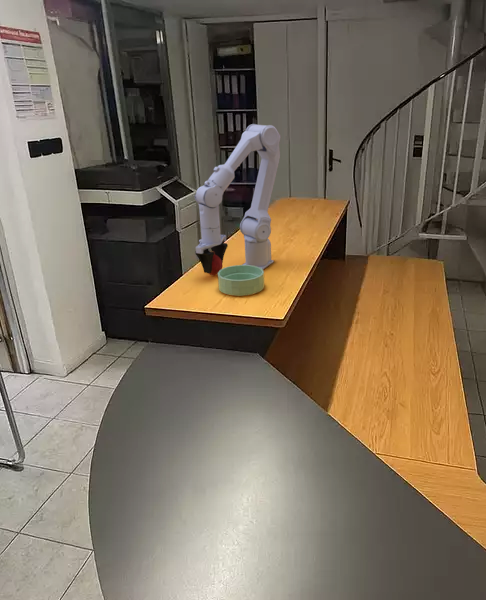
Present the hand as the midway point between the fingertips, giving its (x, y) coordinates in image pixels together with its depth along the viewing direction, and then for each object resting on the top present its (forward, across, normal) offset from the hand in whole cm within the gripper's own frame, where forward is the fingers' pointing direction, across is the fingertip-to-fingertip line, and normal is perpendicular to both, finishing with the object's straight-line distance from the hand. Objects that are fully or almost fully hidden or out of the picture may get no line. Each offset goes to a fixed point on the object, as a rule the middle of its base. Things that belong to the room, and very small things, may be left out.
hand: (213, 269), depth 151 cm
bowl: (+2, +6, +13) cm, 14 cm away
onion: (+2, 0, 0) cm, 2 cm away
